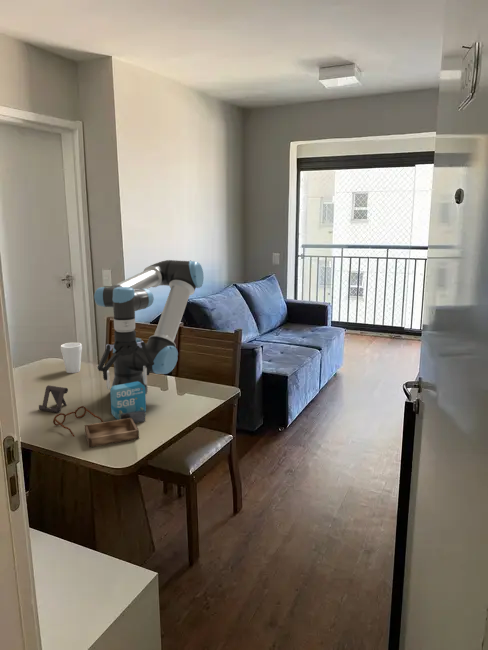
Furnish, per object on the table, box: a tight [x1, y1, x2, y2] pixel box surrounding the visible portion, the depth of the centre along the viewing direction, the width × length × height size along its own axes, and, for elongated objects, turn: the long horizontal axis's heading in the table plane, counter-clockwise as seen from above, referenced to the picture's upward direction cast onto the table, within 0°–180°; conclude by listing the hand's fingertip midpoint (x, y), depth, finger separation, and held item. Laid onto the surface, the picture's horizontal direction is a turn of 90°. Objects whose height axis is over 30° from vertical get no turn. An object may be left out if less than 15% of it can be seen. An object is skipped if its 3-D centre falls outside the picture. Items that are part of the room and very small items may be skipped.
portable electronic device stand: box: [38, 385, 69, 414], centre depth 187 cm, size 9×8×8 cm
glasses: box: [52, 405, 105, 437], centre depth 172 cm, size 13×13×5 cm
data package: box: [109, 381, 147, 420], centre depth 181 cm, size 12×4×12 cm, turn 123°
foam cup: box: [60, 342, 83, 374], centre depth 232 cm, size 10×9×13 cm
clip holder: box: [119, 407, 146, 424], centre depth 182 cm, size 9×16×4 cm, turn 24°
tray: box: [84, 418, 140, 449], centre depth 164 cm, size 16×12×3 cm
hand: (127, 385), depth 179 cm, fingers open, 13 cm apart
